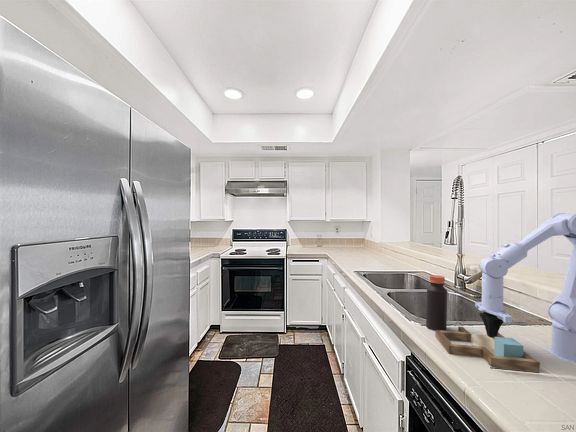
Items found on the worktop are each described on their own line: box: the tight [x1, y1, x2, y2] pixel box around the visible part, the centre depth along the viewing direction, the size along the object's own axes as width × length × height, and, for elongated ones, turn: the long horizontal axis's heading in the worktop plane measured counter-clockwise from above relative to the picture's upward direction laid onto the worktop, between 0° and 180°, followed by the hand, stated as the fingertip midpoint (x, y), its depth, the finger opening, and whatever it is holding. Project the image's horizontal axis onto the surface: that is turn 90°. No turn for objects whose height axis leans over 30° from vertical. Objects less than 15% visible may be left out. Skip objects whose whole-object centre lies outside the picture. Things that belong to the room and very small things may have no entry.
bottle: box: [425, 274, 448, 332], centre depth 106 cm, size 7×7×20 cm
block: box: [494, 336, 524, 358], centre depth 84 cm, size 5×5×5 cm
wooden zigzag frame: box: [434, 326, 541, 374], centre depth 90 cm, size 21×22×3 cm
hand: (491, 336), depth 92 cm, fingers closed
